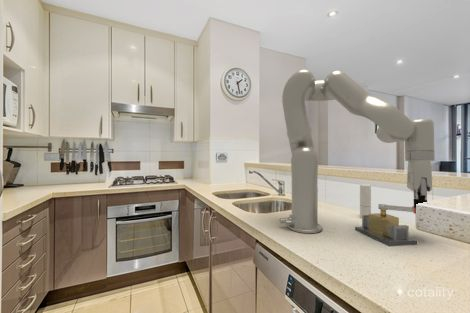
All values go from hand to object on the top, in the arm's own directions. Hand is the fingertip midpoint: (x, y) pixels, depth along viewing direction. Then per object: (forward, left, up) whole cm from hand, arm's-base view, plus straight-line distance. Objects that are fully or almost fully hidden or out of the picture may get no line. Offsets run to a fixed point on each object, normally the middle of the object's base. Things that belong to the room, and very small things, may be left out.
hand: (420, 211), depth 72 cm
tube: (+1, +26, -10) cm, 28 cm away
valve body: (-10, +4, -9) cm, 14 cm away
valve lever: (-6, +1, 0) cm, 6 cm away
